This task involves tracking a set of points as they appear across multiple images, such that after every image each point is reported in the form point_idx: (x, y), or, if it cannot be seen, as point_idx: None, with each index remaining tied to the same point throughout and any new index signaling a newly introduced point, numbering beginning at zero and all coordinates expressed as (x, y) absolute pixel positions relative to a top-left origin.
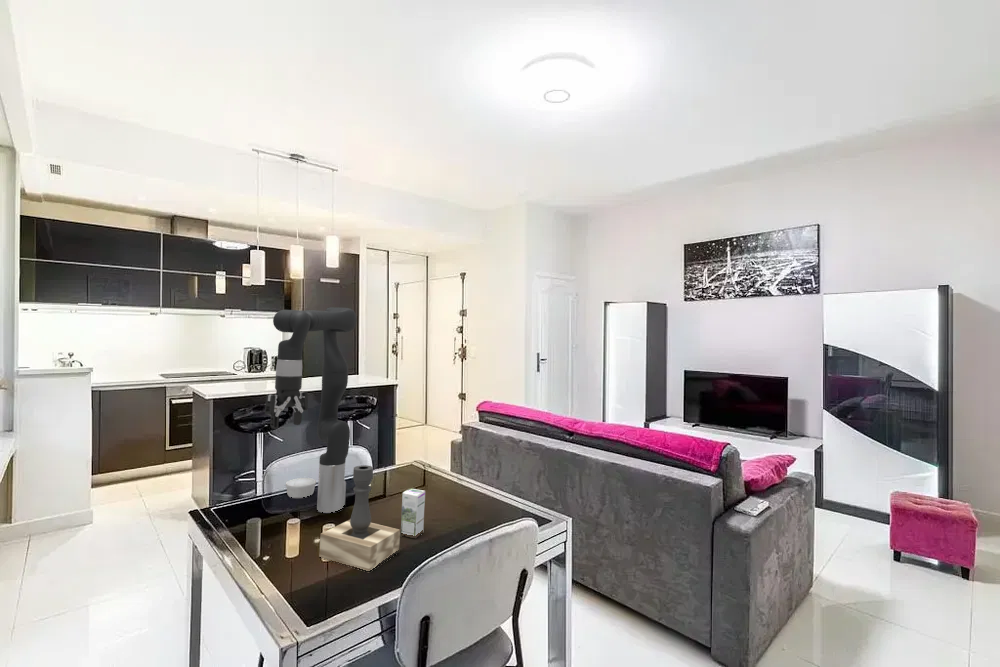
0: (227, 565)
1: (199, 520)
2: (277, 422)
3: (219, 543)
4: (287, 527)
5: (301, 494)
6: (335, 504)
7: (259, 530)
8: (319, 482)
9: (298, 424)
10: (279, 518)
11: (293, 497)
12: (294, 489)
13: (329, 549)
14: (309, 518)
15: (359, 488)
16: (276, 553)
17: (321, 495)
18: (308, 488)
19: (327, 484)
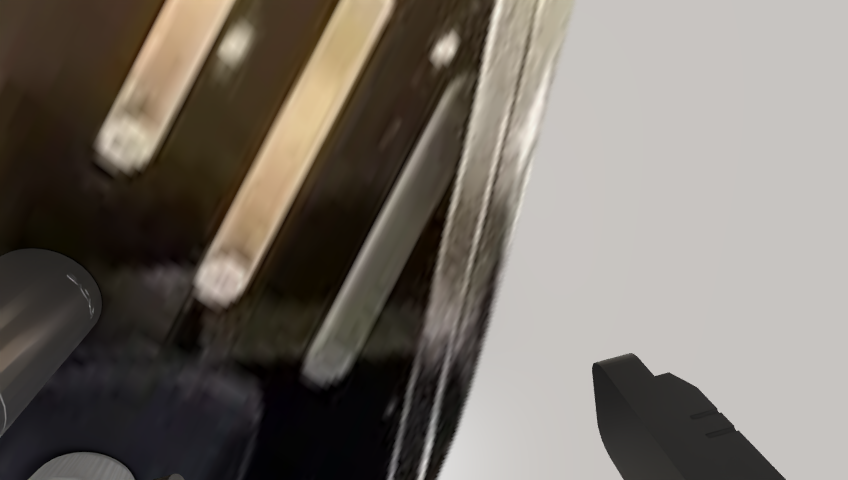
0: (551, 89)
1: (446, 447)
2: (673, 419)
3: (488, 260)
4: (269, 237)
5: (96, 462)
6: (21, 263)
7: (354, 274)
8: (37, 375)
9: (173, 475)
10: (254, 327)
11: (127, 468)
12: None
13: None
14: (162, 261)
15: None
16: (405, 54)
17: (62, 322)
18: (57, 474)
19: (8, 330)
